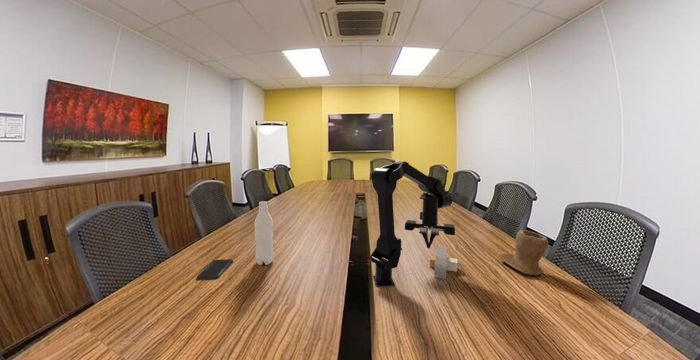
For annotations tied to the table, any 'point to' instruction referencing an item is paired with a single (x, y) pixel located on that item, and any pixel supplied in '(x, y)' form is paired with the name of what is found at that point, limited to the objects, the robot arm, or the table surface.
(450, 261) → the plug
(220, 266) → the phone
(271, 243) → the water bottle
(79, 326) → the table surface
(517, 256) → the brown hat
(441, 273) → the housing
